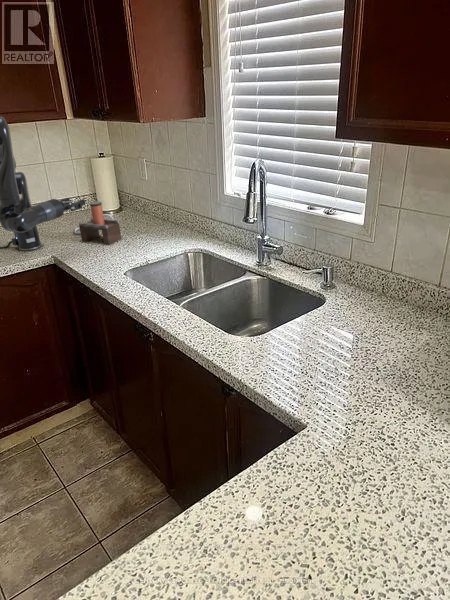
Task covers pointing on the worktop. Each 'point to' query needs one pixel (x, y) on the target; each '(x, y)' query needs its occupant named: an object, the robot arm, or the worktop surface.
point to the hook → (79, 228)
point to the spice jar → (97, 213)
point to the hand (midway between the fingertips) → (76, 200)
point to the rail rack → (108, 231)
